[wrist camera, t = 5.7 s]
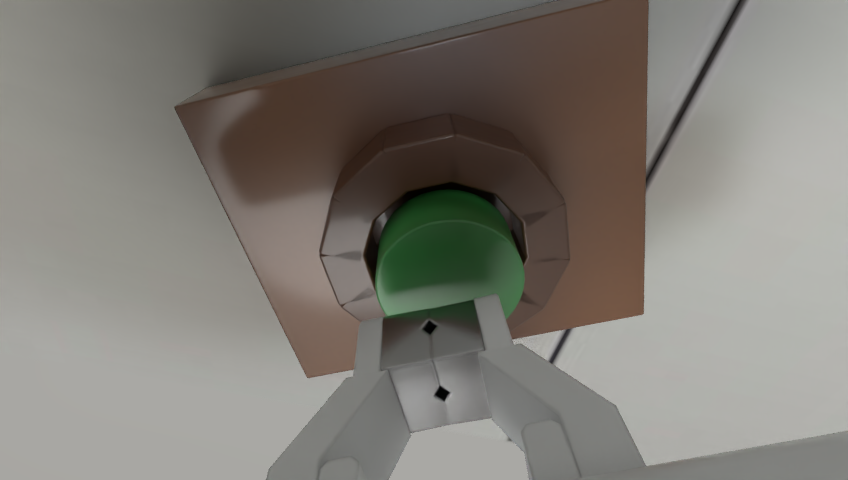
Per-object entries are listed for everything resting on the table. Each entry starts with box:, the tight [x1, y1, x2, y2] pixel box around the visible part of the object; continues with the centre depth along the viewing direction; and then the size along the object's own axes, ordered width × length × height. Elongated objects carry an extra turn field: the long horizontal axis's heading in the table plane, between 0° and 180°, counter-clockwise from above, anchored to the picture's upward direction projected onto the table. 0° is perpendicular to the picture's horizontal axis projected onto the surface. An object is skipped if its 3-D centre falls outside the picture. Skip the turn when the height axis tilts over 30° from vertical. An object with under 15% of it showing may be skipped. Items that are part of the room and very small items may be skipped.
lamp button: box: [375, 189, 525, 319], centre depth 12 cm, size 4×4×2 cm
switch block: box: [175, 0, 648, 378], centre depth 14 cm, size 12×10×4 cm
